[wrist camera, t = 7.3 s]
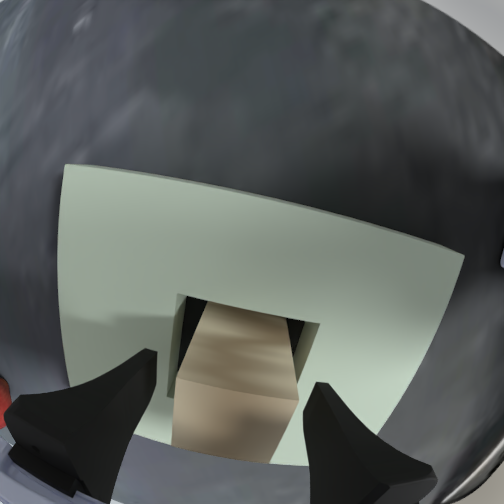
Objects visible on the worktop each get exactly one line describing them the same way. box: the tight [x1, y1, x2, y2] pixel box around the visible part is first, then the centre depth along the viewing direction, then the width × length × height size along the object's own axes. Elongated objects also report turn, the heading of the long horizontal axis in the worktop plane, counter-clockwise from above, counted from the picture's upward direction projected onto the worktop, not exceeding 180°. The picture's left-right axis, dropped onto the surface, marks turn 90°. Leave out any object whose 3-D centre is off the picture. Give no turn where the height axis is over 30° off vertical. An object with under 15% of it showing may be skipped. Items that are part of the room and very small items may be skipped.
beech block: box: [171, 301, 299, 464], centre depth 12 cm, size 4×4×7 cm
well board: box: [57, 164, 465, 466], centre depth 14 cm, size 20×16×2 cm
